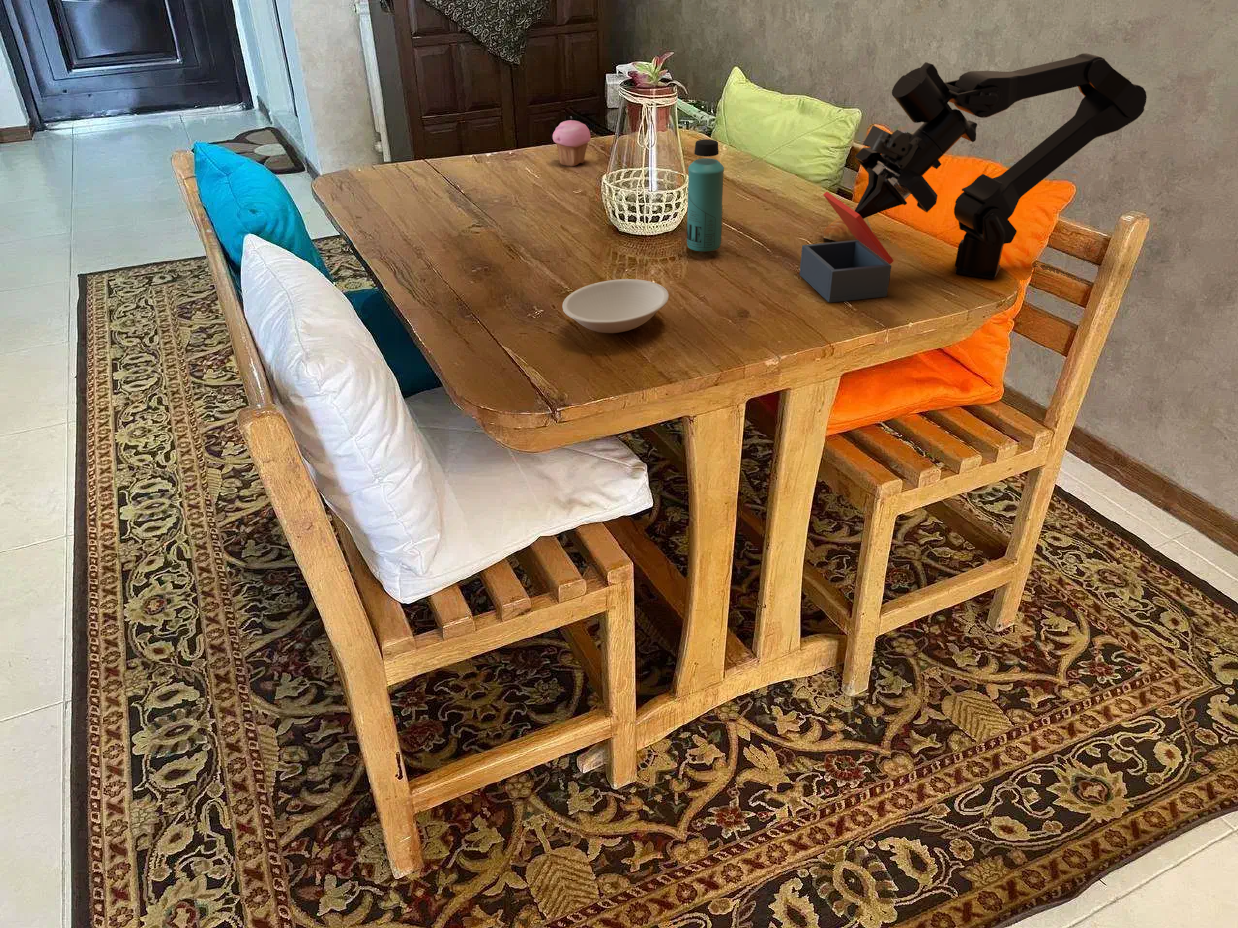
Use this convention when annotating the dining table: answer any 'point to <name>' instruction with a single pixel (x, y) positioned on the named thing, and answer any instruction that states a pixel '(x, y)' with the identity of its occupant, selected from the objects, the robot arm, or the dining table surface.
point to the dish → (615, 304)
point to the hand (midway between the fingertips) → (854, 218)
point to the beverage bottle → (705, 198)
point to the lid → (858, 227)
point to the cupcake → (571, 142)
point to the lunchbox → (844, 271)
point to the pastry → (840, 231)
